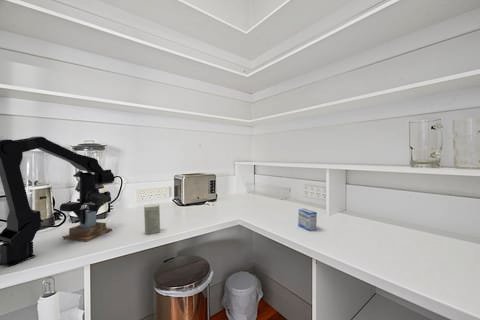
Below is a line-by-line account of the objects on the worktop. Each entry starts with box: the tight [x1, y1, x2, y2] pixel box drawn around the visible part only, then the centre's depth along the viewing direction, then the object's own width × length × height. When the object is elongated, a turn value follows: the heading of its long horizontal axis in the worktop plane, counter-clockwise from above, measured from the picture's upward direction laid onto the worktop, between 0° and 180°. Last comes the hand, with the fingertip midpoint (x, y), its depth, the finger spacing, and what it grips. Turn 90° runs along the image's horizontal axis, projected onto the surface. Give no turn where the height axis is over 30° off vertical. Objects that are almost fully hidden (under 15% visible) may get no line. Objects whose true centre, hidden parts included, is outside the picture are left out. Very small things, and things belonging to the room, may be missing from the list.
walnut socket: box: [62, 221, 113, 243], centre depth 85 cm, size 12×12×4 cm
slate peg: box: [79, 210, 97, 229], centre depth 85 cm, size 4×4×8 cm
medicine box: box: [297, 207, 318, 232], centre depth 95 cm, size 8×4×9 cm, turn 27°
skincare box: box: [143, 203, 161, 235], centre depth 89 cm, size 6×4×12 cm
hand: (88, 222), depth 85 cm, fingers closed on slate peg, 4 cm apart
